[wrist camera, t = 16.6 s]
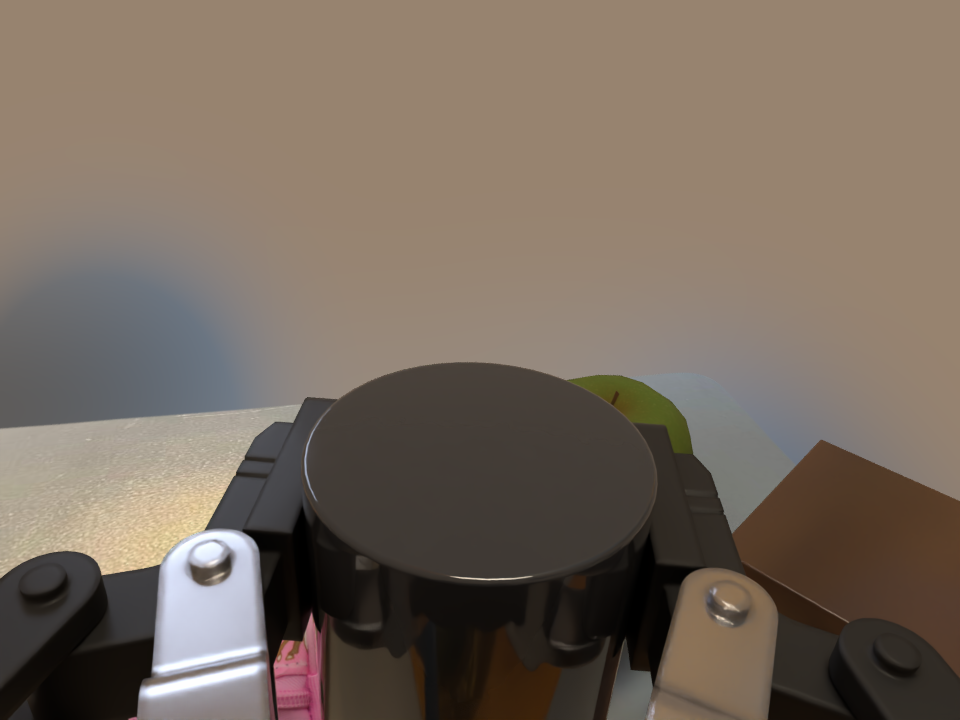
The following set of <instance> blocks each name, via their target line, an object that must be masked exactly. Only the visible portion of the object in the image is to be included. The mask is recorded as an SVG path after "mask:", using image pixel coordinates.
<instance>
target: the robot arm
mask: <svg viewBox="0 0 960 720" xmlns="http://www.w3.org/2000/svg"><path fill="white" fill-rule="evenodd" d="M336 401H337V399H325V398H311V397H307V398H306V399H305V400H304V402H303V404H302V406H301V408H300V410H299V412H298V414H297V416H296V419H295V421H294V423H286V422H274V423H273V424H272V425H271V426H269V427H268V428H267V429H265V430H264V431H263V432H262V433H260V434H259V435H258V436H256V437H255V439H254V440H253V442H252V444H251V446H250V448H249V450H248V452H247V453H246V455H245V460H243V461H242V463H241V464H240V466H239V468H238V470H237V472H236V476H234V477H233V479H232V481H231V483H230V485H229V486H228V488H227V490H226V492H225V494H224V496H223V497H222V499H221V501H220V503H219V505H218V507H217V508H216V510H215V512H214V514H213V516H212V518H211V519H210V521H209V523H208V525H207V527H206V529H205V530H204V531H202V532H199V533H196V534H193V535H191V536H189V537H187V538H185V539H183V540H182V541H180V542H179V543H177V544H176V545H175V546H173V547H172V548H171V549H170V550H169V552H168V553H167V554H166V555H165V557H164V558H163V561H162V563H161V564H160V565H156V566H153V567H149V568H144V569H138V570H132V571H126V572H120V573H114V574H108V575H101V571H100V568H99V566H98V564H97V562H96V561H95V560H94V559H93V558H91V557H90V556H88V555H85V554H83V553H79V552H71V551H63V552H54V553H48V554H45V555H41V556H38V557H35V558H33V559H30V560H28V561H26V562H24V563H22V564H20V565H18V566H17V567H15V568H13V569H12V570H11V571H9V572H8V573H7V574H5V575H4V576H3V577H2V578H1V579H0V720H128V719H130V718H134V717H137V720H279V715H278V704H277V692H276V681H275V671H274V663H275V660H276V657H277V654H278V651H279V648H280V645H281V643H282V640H288V641H301V642H302V641H303V638H304V635H305V632H306V628H307V625H308V622H309V619H310V616H311V613H312V606H311V594H310V582H309V570H308V559H307V547H306V535H305V523H304V511H303V500H302V488H301V472H300V462H301V456H302V451H303V447H304V445H305V442H306V440H307V437H308V435H309V433H310V431H311V429H312V428H313V426H314V425H315V423H316V421H317V420H318V419H319V418H320V416H321V415H322V414H323V413H324V412H325V411H326V410H327V409H328V408H329V407H330V406H331V405H332V404H333V403H335V402H336ZM631 423H632V424H633V425H634V426H635V427H636V428H637V429H638V431H639V432H640V433H641V435H642V436H643V438H644V439H645V441H646V443H647V445H648V447H649V449H650V451H651V453H652V455H653V459H654V462H655V466H656V469H657V477H658V491H657V498H656V504H655V508H654V513H653V517H652V521H651V526H650V530H649V535H648V539H647V543H646V548H645V552H644V557H643V561H642V566H641V570H640V574H639V579H638V583H637V588H636V592H635V596H634V601H633V605H632V610H631V614H630V619H629V623H628V627H627V632H626V640H627V647H628V654H629V661H630V668H631V670H638V671H650V672H651V678H652V684H653V691H652V695H651V698H650V702H649V706H648V710H647V713H646V717H645V720H960V678H959V677H958V675H957V674H956V673H955V672H954V671H953V669H952V668H951V667H950V666H949V665H948V663H947V662H946V661H945V660H944V659H943V658H942V656H941V655H940V654H939V653H938V652H937V651H936V650H935V649H934V647H933V646H932V645H930V644H929V643H928V642H927V641H926V640H925V639H923V638H922V637H920V636H919V635H918V634H916V633H914V632H913V631H911V630H909V629H907V628H905V627H903V626H901V625H899V624H896V623H893V622H891V621H887V620H883V619H878V618H860V619H856V620H853V621H851V622H849V623H848V624H847V625H845V626H844V628H843V629H842V631H841V633H840V635H836V634H833V633H830V632H827V631H824V630H821V629H818V628H815V627H812V626H809V625H806V624H803V623H800V622H797V621H795V620H792V619H790V618H788V617H786V616H784V615H782V614H781V613H779V612H778V611H777V607H776V605H775V603H774V601H773V600H772V598H771V597H770V595H769V594H768V593H767V592H766V591H765V590H764V589H763V588H762V587H761V586H760V585H759V584H758V583H756V582H755V581H753V580H752V579H750V578H748V577H747V576H746V574H745V571H744V568H743V565H742V562H741V559H740V556H739V553H738V550H737V548H736V545H735V542H734V539H733V536H732V533H731V530H730V527H729V524H728V522H727V519H726V516H725V515H724V510H723V507H722V504H721V501H720V498H718V493H717V490H716V487H715V484H714V481H713V478H712V475H711V473H710V472H709V471H708V470H707V469H706V468H705V467H704V465H703V464H702V463H701V462H700V461H699V460H698V459H697V458H696V457H695V456H694V455H693V454H683V453H674V451H673V448H672V444H671V441H670V437H669V434H668V430H667V427H666V426H665V425H660V424H647V423H634V422H631Z"/></svg>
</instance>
